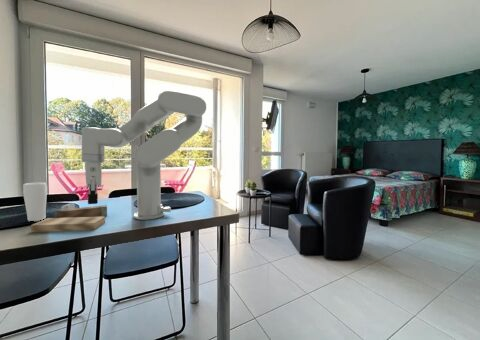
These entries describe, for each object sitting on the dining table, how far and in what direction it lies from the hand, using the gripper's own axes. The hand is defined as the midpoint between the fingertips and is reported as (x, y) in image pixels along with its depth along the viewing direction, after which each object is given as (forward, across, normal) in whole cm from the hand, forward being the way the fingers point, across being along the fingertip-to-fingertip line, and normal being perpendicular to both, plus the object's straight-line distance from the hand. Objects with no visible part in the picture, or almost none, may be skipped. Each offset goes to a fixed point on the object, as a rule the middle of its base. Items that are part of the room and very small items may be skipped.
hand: (92, 203), depth 86 cm
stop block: (+8, +17, +9) cm, 21 cm away
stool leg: (+7, +5, +3) cm, 9 cm away
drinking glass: (+8, +12, +18) cm, 24 cm away
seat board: (+7, -5, +7) cm, 11 cm away
